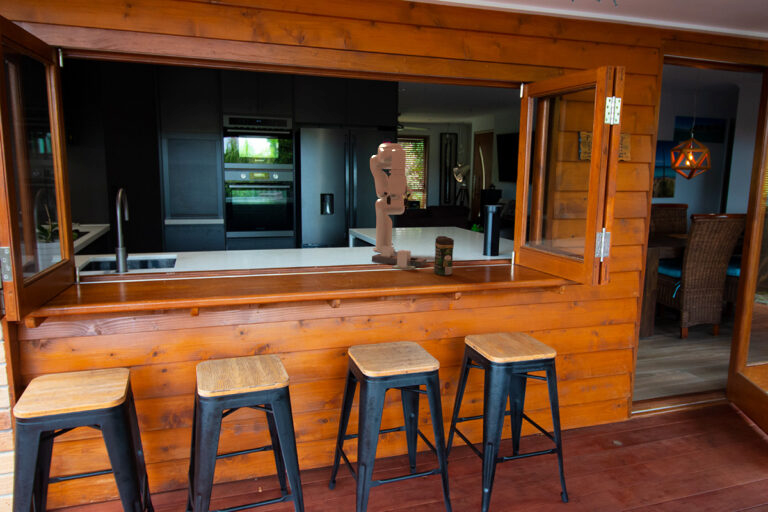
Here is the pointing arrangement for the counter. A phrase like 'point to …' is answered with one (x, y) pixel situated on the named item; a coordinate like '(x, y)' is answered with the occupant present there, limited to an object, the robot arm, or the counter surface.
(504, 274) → the counter surface
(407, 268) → the mat
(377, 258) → the board with square holes
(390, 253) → the brown wooden block
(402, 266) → the pale pink rectangular block
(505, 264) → the counter surface
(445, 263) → the coffee jar
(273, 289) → the counter surface
